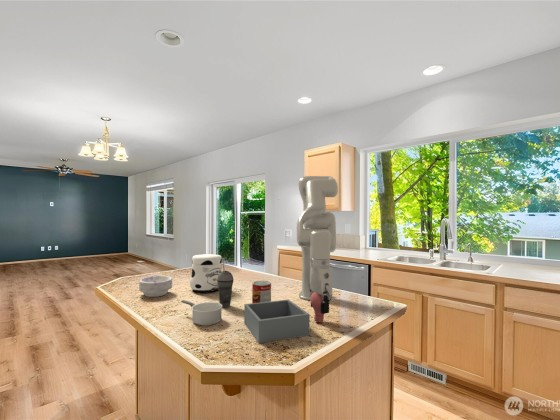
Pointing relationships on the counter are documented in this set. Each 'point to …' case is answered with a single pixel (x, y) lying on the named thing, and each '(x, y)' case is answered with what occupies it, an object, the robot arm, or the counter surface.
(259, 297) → the canned food
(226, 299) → the beverage cup
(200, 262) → the milk container
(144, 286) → the paper bowls
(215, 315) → the saucepan
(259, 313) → the bin
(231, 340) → the counter surface
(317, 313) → the pink rounded bulb shape
